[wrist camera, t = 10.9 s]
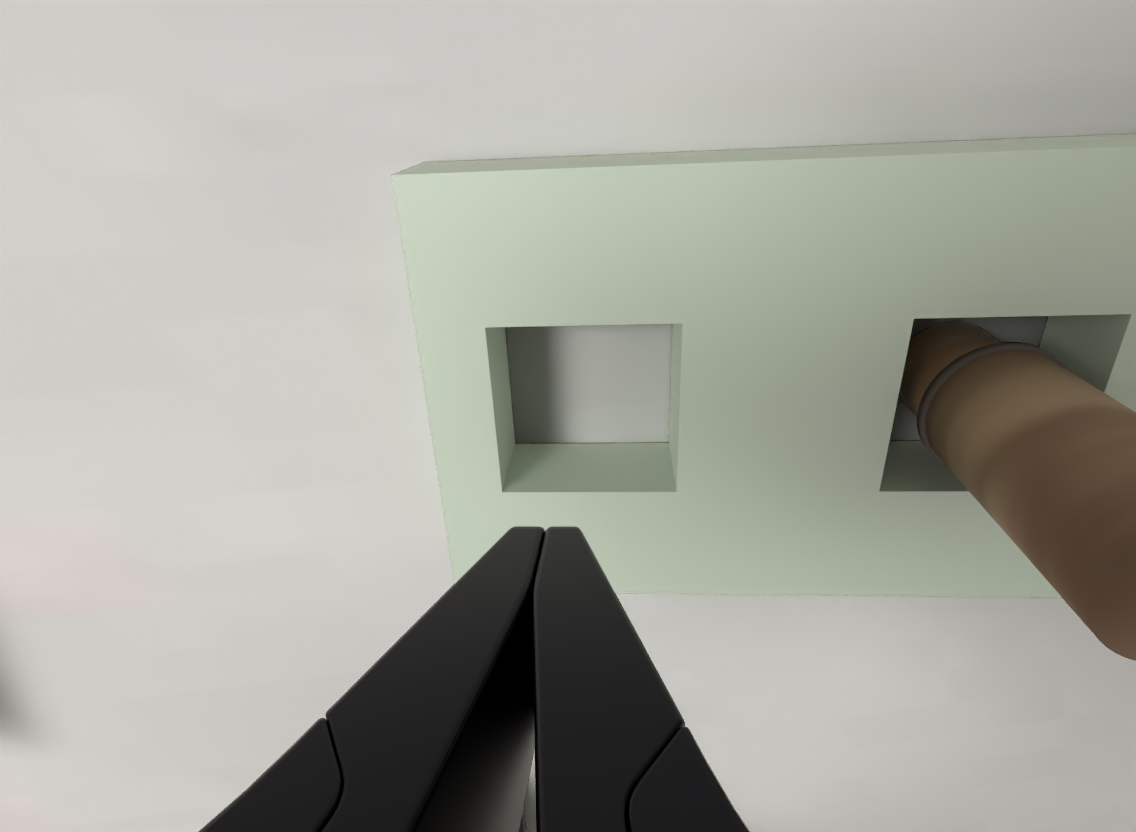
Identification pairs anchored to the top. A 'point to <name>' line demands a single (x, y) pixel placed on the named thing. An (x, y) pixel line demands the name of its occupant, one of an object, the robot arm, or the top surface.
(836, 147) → the board
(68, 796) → the top surface
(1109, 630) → the peg
